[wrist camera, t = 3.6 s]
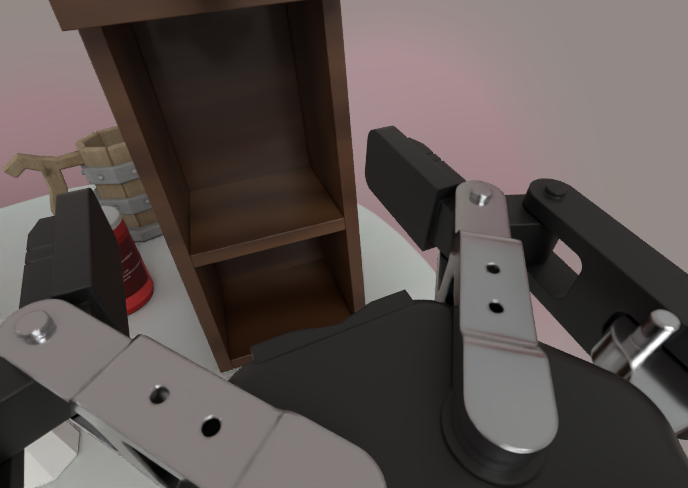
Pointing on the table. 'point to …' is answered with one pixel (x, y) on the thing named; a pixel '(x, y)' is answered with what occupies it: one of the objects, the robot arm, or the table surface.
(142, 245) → the table surface
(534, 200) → the robot arm
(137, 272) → the canned food
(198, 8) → the wooden cabinet
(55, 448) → the salt shaker
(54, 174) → the tankard
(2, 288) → the table surface
